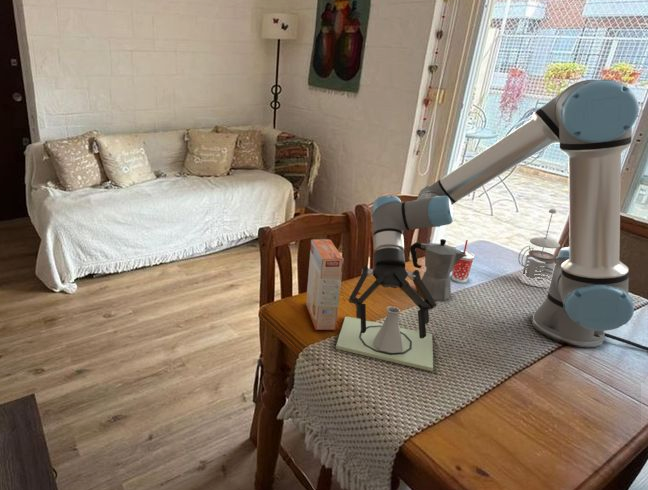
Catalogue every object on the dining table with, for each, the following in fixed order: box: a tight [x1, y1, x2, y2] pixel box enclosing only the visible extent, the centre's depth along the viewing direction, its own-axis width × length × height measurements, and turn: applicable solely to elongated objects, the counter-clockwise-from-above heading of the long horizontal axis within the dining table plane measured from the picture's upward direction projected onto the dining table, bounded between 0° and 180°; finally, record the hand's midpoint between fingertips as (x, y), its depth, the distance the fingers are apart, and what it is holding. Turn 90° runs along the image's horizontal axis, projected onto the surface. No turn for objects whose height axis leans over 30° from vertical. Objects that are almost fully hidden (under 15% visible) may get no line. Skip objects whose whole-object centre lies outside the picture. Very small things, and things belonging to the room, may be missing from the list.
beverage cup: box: [451, 239, 475, 284], centre depth 143 cm, size 6×6×14 cm
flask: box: [374, 305, 404, 353], centre depth 107 cm, size 7×7×10 cm
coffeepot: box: [409, 238, 466, 301], centre depth 134 cm, size 15×9×18 cm, turn 59°
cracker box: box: [305, 238, 345, 331], centre depth 119 cm, size 14×6×21 cm, turn 0°
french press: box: [517, 208, 561, 281], centre depth 140 cm, size 10×12×25 cm
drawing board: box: [335, 315, 434, 372], centre depth 111 cm, size 22×15×1 cm
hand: (392, 334), depth 104 cm, fingers open, 13 cm apart
